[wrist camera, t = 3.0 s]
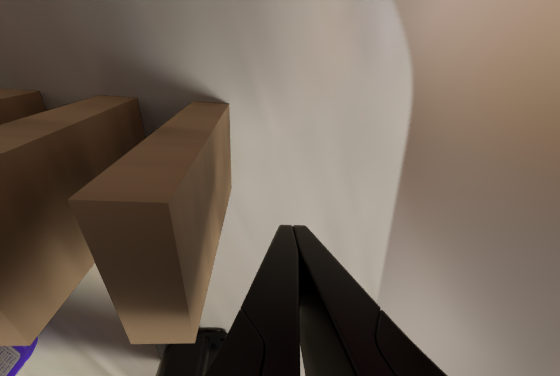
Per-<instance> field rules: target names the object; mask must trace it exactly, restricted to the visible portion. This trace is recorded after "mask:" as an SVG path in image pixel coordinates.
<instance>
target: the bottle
mask: <svg viewBox="0 0 560 376" xmlns="http://www.w3.org/2000/svg"><path fill="white" fill-rule="evenodd" d="M37 341H38V337H36V339H35V340H34V341H33V343H32V344H31V345H30V346H0V376H16V375H17V373H18V372H19V371H20V369H21V368H22V366H23V365H24V363H25V362H26V361H27V360H28V359H29V357H30V356H31V354H32V352H33V351H34V349H35V346H36V344H37Z"/></svg>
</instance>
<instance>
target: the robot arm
mask: <svg viewBox="0 0 560 376" xmlns="http://www.w3.org/2000/svg"><path fill="white" fill-rule="evenodd" d="M155 345H156V348H157V350H158V353H159V356H160V359H161V361H160V364H159V367H158V370H157V373H156V376H300V346H301V352H302V358H303V364H304V369H305V375H306V376H447V375H446V374H445V373H444V372H443V371H442V370H441V369H440V368H439V367H438V366H437V365H436V364H435V363H434V362H433V361H431V359H429V358H428V357H427V356H426V355H425V354H424V353H423V352H422V351H421V350H420V349H419V348H418V347H417V346H416V345H415V344H414V343H413V342H412V341H411V340H410V339H409V338H408V337H407V336H406V335H405V333H403V331H402V330H401V329H400V328H399V327H398V326H397V325H396V324H395V323H394V322H393V321H392V320H391V319H390V318H389V316H388V315H387V314H386V313H385V312H384V311H383V310H380V307H379V306H378V304H377V303H376V302H375V301H374V300H373V299H372V298H371V297H370V296H369V295H368V294H367V292H366V291H365V290H364V289H363V288H362V287H361V286H360V285H359V284H358V283H357V281H356V280H355V279H354V278H353V277H352V276H351V275H350V274H349V273H348V272H347V270H346V269H345V268H344V267H343V266H342V265H341V264H340V263H339V262H338V261H337V259H336V258H335V257H334V256H333V255H332V254H331V253H330V252H329V251H328V250H327V249H326V247H325V246H324V245H323V244H322V243H321V242H320V241H319V240H318V239H317V238H316V236H315V235H314V234H313V233H312V232H311V231H310V230H309V229H308V228H307V227H306V226H304V225H294V226H293V227H292V226H291V225H280V226H279V227H278V230H277V232H276V234H275V236H274V238H273V240H272V242H271V244H270V247H269V249H268V251H267V253H266V255H265V257H264V259H263V261H262V264H261V266H260V268H259V270H258V272H257V274H256V276H255V278H254V281H253V283H252V285H251V287H250V289H249V291H248V293H247V295H246V298H245V300H244V302H243V304H242V306H241V310H240V311H239V312H238V314H237V316H236V318H235V320H234V323H233V325H232V327H231V329H230V331H229V332H228V334H227V333H226V332H197V336H196V341H195V343H176V344H155Z"/></svg>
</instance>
